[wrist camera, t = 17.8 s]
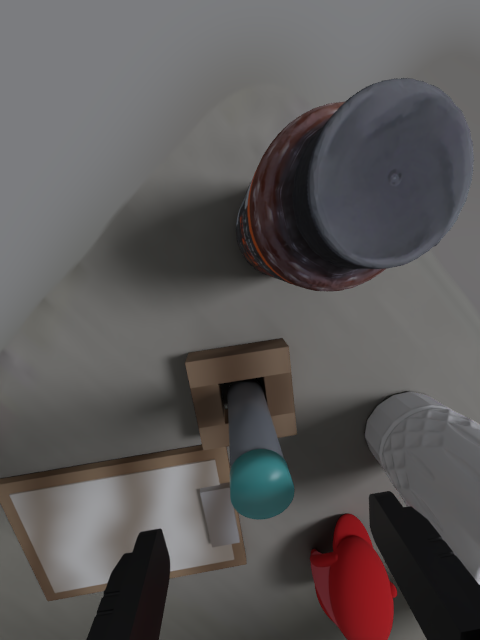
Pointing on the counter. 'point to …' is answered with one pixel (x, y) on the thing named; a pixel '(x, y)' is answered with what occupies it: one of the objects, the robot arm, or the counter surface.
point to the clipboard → (124, 516)
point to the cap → (354, 583)
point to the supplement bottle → (358, 187)
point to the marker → (255, 455)
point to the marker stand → (235, 366)
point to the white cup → (433, 466)
